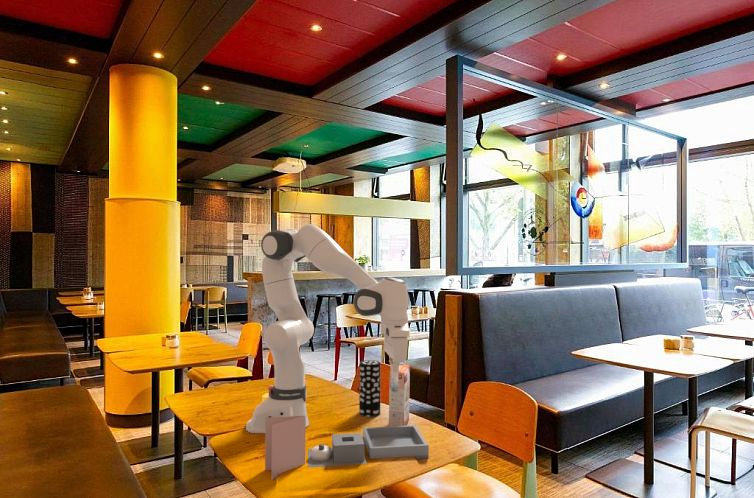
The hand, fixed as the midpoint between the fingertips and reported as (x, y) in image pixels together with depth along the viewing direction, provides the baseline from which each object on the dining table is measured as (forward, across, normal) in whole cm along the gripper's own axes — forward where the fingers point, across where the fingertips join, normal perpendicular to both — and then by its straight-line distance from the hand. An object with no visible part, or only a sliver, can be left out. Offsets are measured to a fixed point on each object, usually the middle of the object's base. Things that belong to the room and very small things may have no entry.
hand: (394, 370), depth 155 cm
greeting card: (+25, +13, -34) cm, 44 cm away
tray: (+25, 0, 0) cm, 25 cm away
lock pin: (+7, 0, 0) cm, 7 cm away
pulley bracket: (+25, +6, -19) cm, 32 cm away
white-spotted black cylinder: (+25, -36, -3) cm, 44 cm away
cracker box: (+25, -21, +6) cm, 33 cm away
